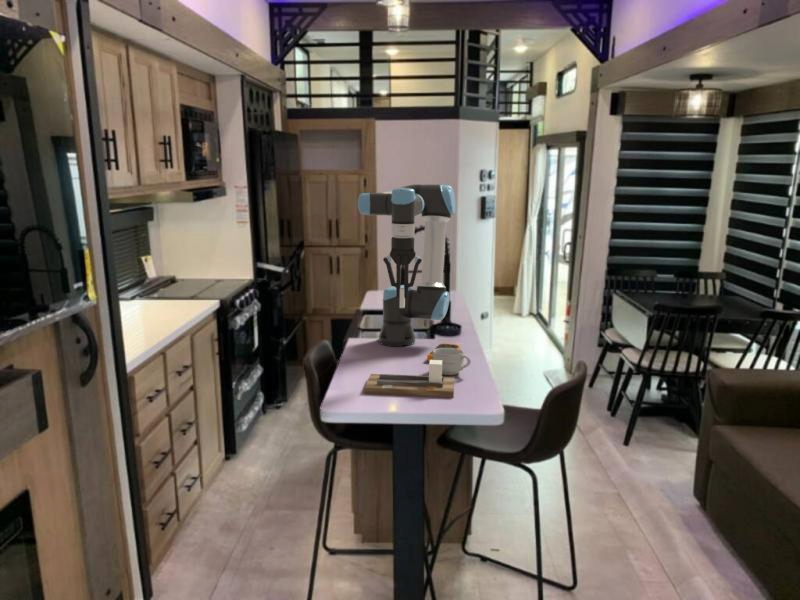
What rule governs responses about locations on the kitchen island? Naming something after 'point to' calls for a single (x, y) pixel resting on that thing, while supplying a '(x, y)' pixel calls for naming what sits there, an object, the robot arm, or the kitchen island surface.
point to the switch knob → (435, 371)
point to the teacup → (451, 360)
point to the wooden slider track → (409, 385)
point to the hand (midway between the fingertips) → (402, 307)
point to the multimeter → (442, 345)
